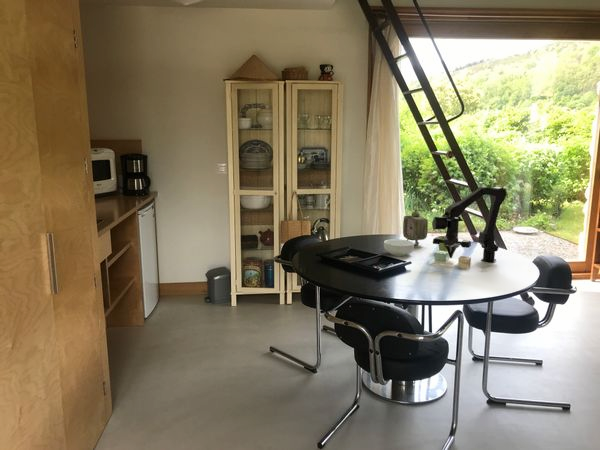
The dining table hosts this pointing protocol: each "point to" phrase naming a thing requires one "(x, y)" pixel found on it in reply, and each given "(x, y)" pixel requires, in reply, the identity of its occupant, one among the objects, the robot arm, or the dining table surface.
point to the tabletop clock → (415, 227)
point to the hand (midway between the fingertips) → (450, 258)
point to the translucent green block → (441, 255)
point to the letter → (449, 263)
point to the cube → (464, 262)
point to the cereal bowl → (398, 247)
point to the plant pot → (442, 245)
